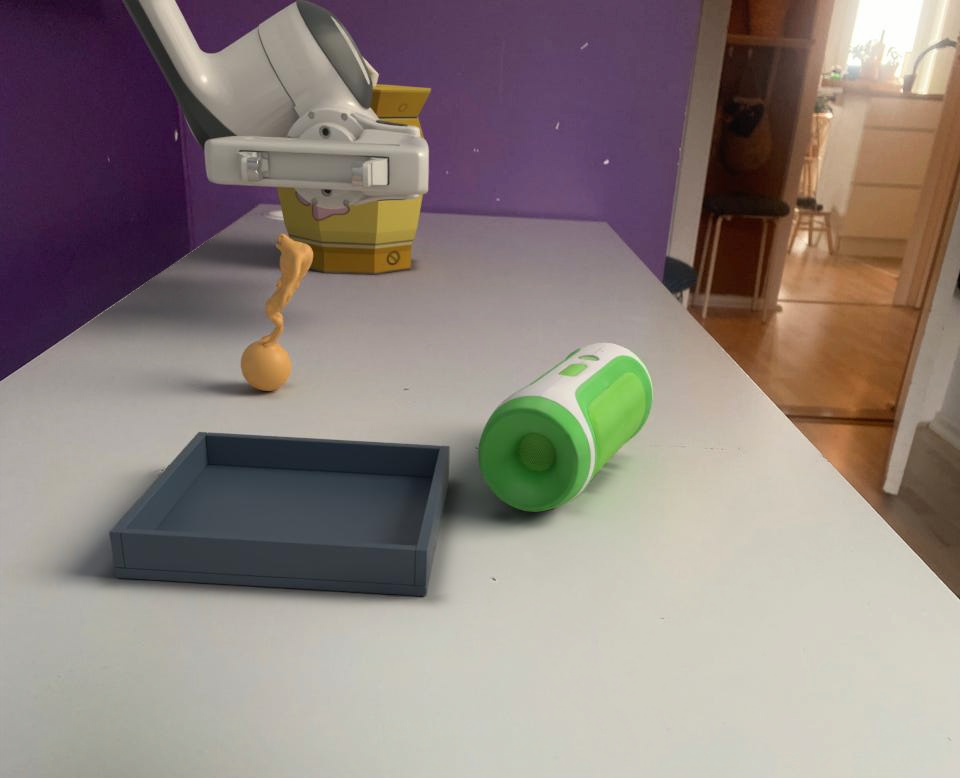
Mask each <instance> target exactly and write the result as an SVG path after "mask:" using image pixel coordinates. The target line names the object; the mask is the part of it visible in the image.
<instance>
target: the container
mask: <svg viewBox="0 0 960 778" xmlns="http://www.w3.org/2000/svg"><path fill="white" fill-rule="evenodd" d="M362 57H363V59H364V61H365V64H366V66H367V68H368V71H369V74H370V76H371V79H372V83H373V91H372V101H371V105H370V108H371V109H372V110H373V112H374V113H375V114H376V115H377V117H378V118H379V120H382V121H387V122H393V123H400V124H407V125H411V126H417V127H418V128H419V129H420V135H421V137H422V138H423V139H425V136H424V131H423V129H422V125H421V122H420V119H419V115H420V113H421V111H422V110H423V107H424V105H425V104H426V101H427V99H428V97H429V96H430V94H431V92H432V87H419V86H407V85H394V84H382V83H381V84H379V83H378V80H379V77H380V76H379V75H380V74H379V73H378V71H377V70H376V69H375V68H374V67H373V66H372V65H371V64H370V63H369V62H368V61H367V59H365V57H364V56H363V55H362ZM276 190H277V193H278V199H279V204H280V208H281V213H282V219H283V223H284V226H285V229H286V232H287V236H288V237H289V238H290V239H292V240H294V241H298V242H302V243H305V244H307V245H309V246H310V247H311V248H312V251H313V261H312V264H311V266H310V268H309V269H308V270H313V271H317V272H320V273H325V274H326V273H327V274H329V273H330V274H351V275H352V274H353V275H380V274H388V273H394V272H395V273H396V272H402V271H409V270H411V265H412V248H413V247H412V246H413V243H414V240H415V237H416V234H417V230H418V225H419V221H420V214H421V207H422V201H423V196H424V194H422V195H419V197H418V198H416V199H406V200H385V201H377V200H376V201H371V202H367V203H363V204H359V205H353V204H352V205H350V206H347V207H345V208H341V209H325V208H321V207H318V206H315V205H313V204H311V203H309V202H308V201H306V200H305V199H304V198H303V197H301V196H300V195H299V194H298V192H297V191H296V190H295V189H294V188H289V187H276Z"/></svg>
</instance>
